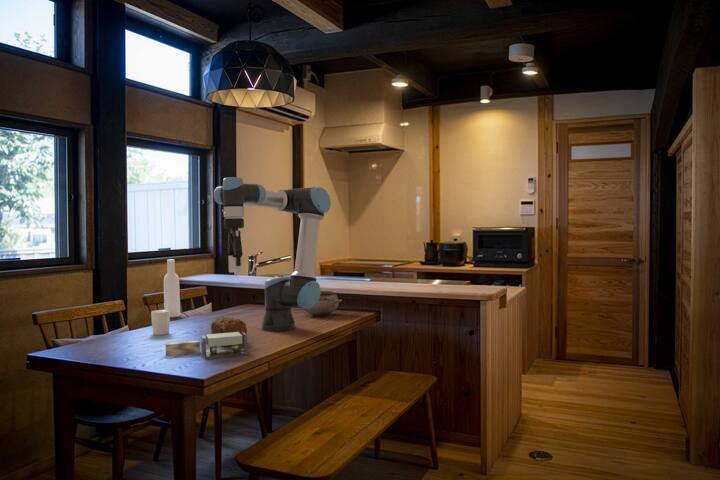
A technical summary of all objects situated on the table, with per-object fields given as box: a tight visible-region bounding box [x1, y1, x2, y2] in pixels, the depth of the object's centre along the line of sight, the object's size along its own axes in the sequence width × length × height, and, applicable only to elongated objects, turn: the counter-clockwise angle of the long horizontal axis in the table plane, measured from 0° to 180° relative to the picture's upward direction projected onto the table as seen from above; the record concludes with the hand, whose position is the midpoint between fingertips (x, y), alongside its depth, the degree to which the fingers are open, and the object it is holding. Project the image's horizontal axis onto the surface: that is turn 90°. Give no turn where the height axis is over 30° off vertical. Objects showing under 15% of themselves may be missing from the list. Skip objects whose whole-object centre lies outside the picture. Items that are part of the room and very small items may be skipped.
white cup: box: [150, 309, 171, 336], centre depth 257 cm, size 8×8×10 cm
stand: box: [165, 340, 201, 357], centre depth 216 cm, size 12×3×4 cm, turn 111°
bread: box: [210, 316, 248, 347], centre depth 236 cm, size 19×11×10 cm, turn 26°
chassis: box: [200, 332, 249, 361], centre depth 213 cm, size 16×12×7 cm
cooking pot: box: [303, 289, 343, 318], centre depth 298 cm, size 25×19×12 cm
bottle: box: [163, 258, 181, 318], centre depth 305 cm, size 8×8×30 cm
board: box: [205, 332, 242, 348], centre depth 213 cm, size 12×8×3 cm, turn 111°
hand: (235, 273), depth 222 cm, fingers open, 13 cm apart
